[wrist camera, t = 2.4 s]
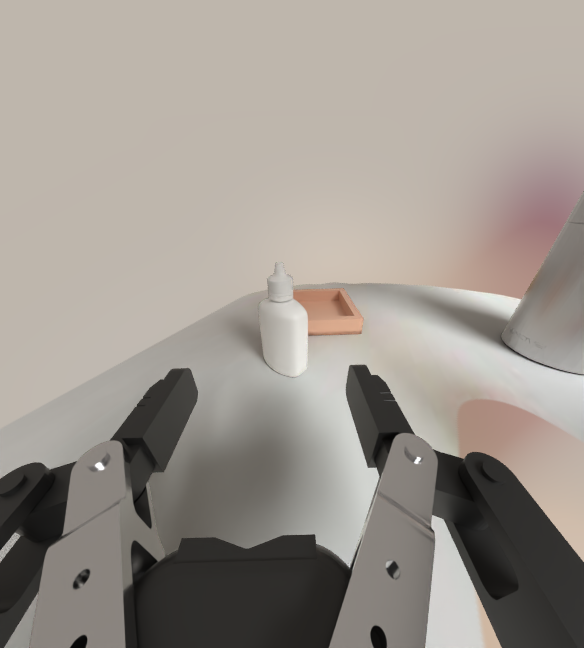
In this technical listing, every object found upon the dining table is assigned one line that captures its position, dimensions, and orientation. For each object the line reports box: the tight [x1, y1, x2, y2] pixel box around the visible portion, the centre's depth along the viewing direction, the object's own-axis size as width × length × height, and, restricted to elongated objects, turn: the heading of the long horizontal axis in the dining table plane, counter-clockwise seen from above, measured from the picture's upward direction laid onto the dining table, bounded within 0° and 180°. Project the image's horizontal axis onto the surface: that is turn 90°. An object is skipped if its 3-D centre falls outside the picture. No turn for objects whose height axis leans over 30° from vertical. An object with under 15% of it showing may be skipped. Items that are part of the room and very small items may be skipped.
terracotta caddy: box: [293, 288, 364, 336], centre depth 35 cm, size 12×12×2 cm
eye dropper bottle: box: [258, 262, 308, 377], centre depth 22 cm, size 4×6×12 cm
